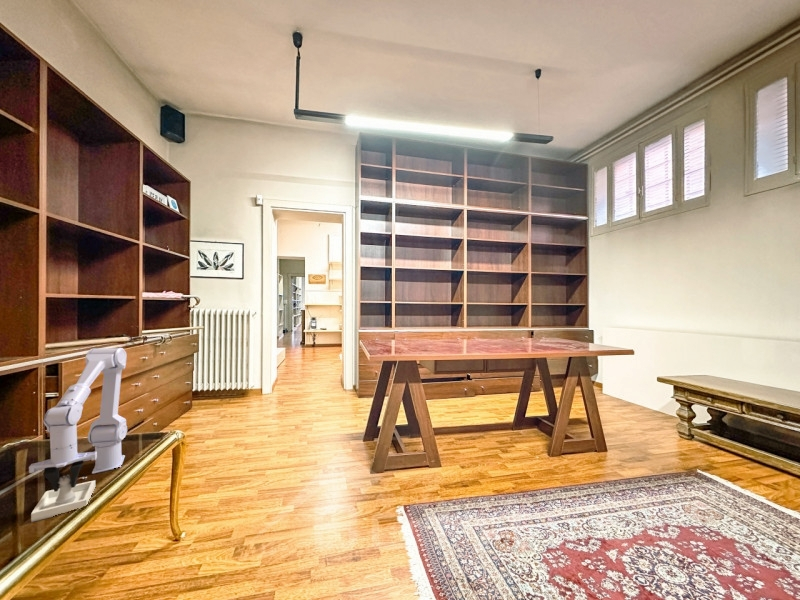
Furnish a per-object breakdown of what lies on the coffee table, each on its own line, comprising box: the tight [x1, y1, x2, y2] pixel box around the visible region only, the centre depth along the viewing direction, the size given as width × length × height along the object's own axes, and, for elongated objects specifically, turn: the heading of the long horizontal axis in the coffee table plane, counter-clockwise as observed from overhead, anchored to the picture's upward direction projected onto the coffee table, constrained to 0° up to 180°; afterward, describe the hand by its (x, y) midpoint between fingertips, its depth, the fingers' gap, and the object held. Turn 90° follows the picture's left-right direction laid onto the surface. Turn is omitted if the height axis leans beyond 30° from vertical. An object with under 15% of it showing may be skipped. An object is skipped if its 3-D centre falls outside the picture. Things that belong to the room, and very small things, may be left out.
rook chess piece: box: [56, 474, 76, 506], centre depth 101 cm, size 4×4×8 cm
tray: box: [30, 479, 97, 523], centre depth 101 cm, size 12×12×2 cm
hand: (65, 487), depth 101 cm, fingers closed on rook chess piece, 3 cm apart
